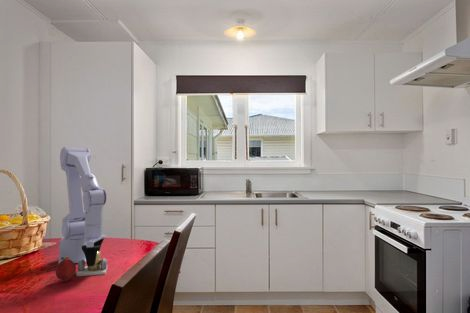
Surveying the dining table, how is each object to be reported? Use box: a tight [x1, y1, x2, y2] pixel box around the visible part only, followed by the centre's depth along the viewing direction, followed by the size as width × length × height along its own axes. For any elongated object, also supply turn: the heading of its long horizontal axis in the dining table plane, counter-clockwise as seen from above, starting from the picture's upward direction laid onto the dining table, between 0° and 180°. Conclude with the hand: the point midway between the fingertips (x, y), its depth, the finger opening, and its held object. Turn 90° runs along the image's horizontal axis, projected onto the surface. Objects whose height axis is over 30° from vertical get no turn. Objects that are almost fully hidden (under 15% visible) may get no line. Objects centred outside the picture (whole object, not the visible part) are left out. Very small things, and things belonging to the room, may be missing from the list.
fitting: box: [76, 257, 108, 277], centre depth 111 cm, size 9×7×4 cm
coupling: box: [88, 250, 102, 271], centre depth 111 cm, size 5×5×6 cm
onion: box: [55, 256, 77, 282], centre depth 102 cm, size 6×6×8 cm
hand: (92, 262), depth 111 cm, fingers open, 7 cm apart
